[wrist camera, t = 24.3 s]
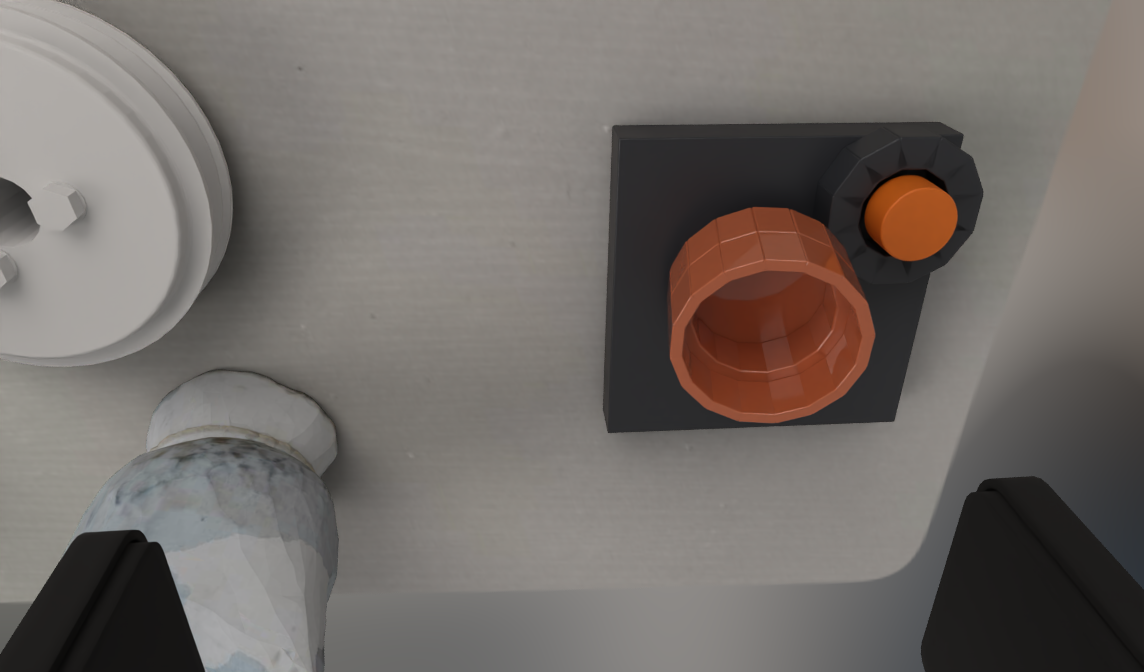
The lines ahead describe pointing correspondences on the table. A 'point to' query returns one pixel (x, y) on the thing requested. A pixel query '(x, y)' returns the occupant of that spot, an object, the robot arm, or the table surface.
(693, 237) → the flower pot
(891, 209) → the button
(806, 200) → the scale
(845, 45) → the table surface
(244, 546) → the figurine
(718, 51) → the table surface
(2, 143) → the gray bolted wheel hub
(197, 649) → the robot arm
